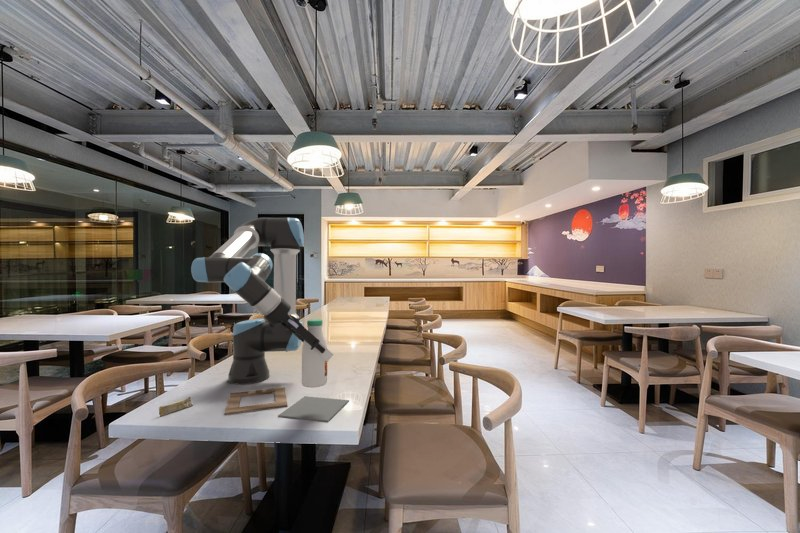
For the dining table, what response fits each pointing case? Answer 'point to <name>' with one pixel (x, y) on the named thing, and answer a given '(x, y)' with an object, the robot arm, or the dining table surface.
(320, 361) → the milk bottle
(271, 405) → the wooden frame
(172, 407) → the snack bar
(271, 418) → the dining table surface
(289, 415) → the rubber mat
